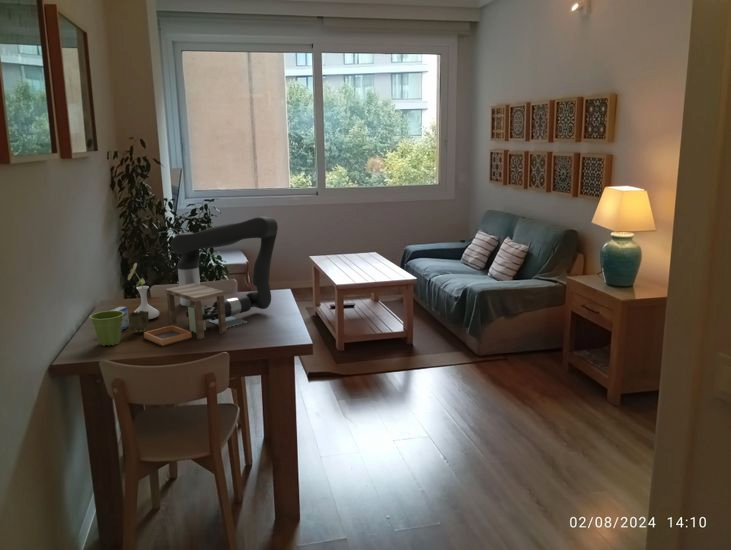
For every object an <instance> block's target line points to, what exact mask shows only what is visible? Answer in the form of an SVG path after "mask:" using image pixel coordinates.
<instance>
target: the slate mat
mask: <svg viewBox="0 0 731 550" xmlns="http://www.w3.org/2000/svg"><path fill="white" fill-rule="evenodd" d="M210 322H211V323H210ZM246 322H248V321H247V320H244V319H241V318H237V317H234V316H231V317H227V318H226V327H227V328H226V329H229V328H228V327H230V328H232V327H231V326H233V327H236V326H235V325H237V326H239V325H238V324H241V325H243V324H242V323H244V324H247V323H246ZM207 323H210V324H213V323H214V324H213V325H216V324H217V326H219V322H218V319H216V320H207Z"/></svg>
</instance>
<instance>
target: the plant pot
mask: <svg viewBox="0 0 731 550" xmlns="http://www.w3.org/2000/svg"><path fill="white" fill-rule="evenodd" d="M123 315H124V312H122V311H110V310H104V311H99V312H96V313H95V312H94V313H93V314H91V315H89V319H91V322H92V325H93V326H94V330H95V333H96V336H97V340H98V344H99V345H100V344H102V345H107V346H110V345H112V346H114V345H113V344H116V343H118V344H120V342H121V336H122V335H121V334H122V331H121V323H122V317H123ZM116 345H117V344H116Z"/></svg>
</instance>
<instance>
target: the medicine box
mask: <svg viewBox="0 0 731 550" xmlns="http://www.w3.org/2000/svg"><path fill="white" fill-rule="evenodd" d="M109 311H122V312H124V315H123V317H122V323H121V330H123V329H125V328H127V327H128V328H130V327H129V326H130V319H129V311H128V307H127V306H118V307H115V308H112V309H111V310H109ZM128 328H127V329H128ZM125 330H126V329H125ZM123 331H124V330H123Z"/></svg>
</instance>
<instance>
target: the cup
mask: <svg viewBox="0 0 731 550" xmlns="http://www.w3.org/2000/svg"><path fill="white" fill-rule="evenodd" d="M148 314H149V312H148V311H147V312H146V311H145V312H144V311H140V312H139V313H138V312H136V313H135V312H134V311H131V312H129V314H128V318H129V324H130V326H131V327H132V329H133V330H135V333H136V332H137V334H143V333H144V332H146V328H147V327H148V325H149V320H148ZM142 332H143V333H142Z"/></svg>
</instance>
